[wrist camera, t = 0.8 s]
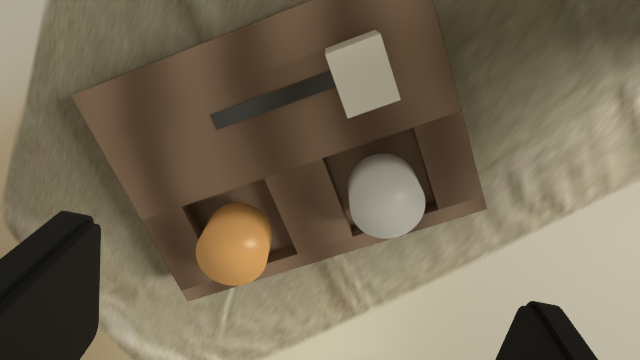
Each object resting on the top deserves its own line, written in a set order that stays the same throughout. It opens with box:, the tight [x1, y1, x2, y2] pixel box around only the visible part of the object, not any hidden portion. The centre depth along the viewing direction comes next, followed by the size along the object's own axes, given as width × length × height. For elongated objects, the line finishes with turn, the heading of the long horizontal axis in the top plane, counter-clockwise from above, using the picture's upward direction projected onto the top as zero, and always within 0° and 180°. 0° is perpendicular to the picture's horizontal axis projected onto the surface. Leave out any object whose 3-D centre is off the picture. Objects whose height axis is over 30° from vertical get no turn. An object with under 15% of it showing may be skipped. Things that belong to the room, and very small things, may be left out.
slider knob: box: [325, 30, 401, 118], centre depth 26 cm, size 3×4×3 cm
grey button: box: [348, 153, 425, 239], centre depth 28 cm, size 4×4×3 cm
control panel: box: [71, 0, 487, 301], centre depth 31 cm, size 22×16×4 cm
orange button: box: [196, 203, 273, 286], centre depth 30 cm, size 4×4×3 cm
